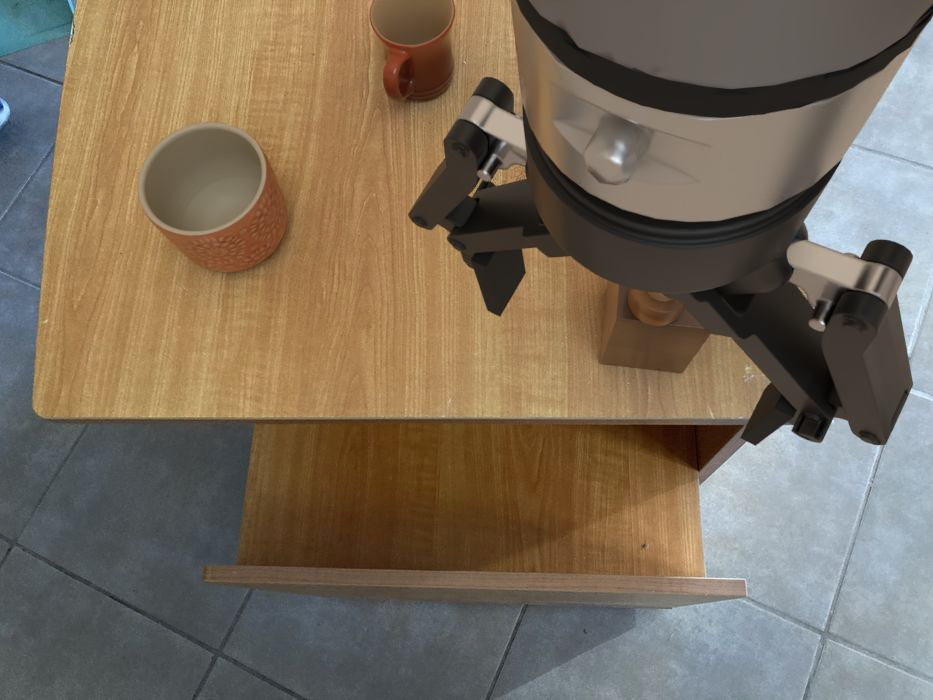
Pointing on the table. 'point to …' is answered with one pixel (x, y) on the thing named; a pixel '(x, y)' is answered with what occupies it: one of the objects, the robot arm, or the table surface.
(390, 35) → the mug
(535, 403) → the table surface
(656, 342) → the stand
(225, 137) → the planter
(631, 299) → the pestle
